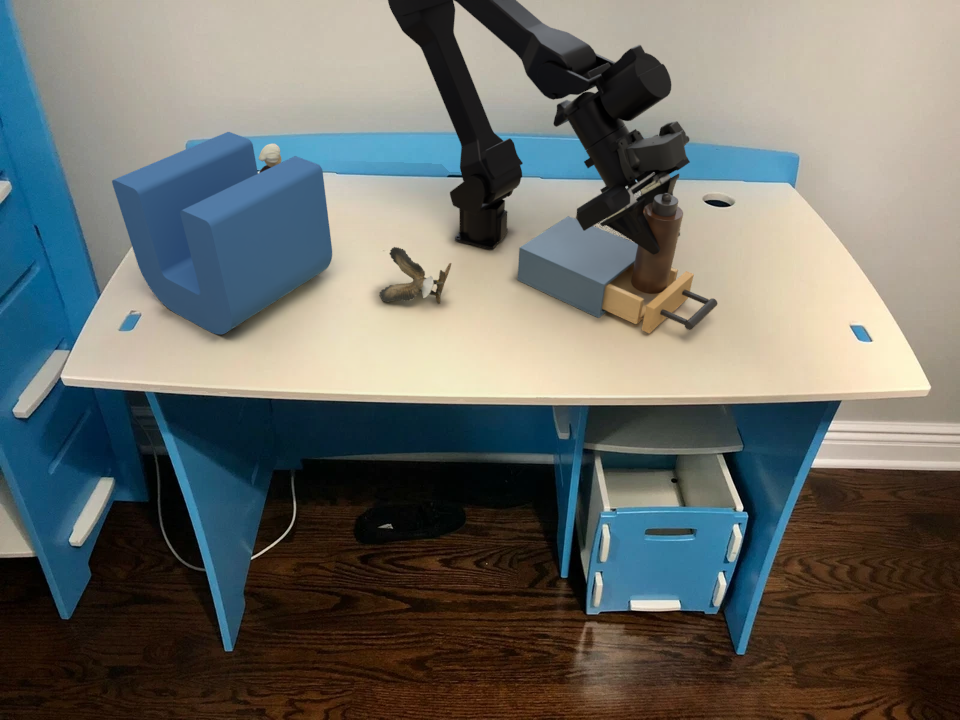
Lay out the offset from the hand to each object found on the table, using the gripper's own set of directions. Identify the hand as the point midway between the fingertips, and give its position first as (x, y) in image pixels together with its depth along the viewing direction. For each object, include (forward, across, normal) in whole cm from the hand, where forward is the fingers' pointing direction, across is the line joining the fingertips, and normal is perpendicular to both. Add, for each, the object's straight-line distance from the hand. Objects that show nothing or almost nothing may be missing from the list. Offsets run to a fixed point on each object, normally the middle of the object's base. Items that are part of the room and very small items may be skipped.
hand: (666, 245), depth 97 cm
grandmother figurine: (-33, -17, +49) cm, 61 cm away
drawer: (+6, 0, +8) cm, 10 cm away
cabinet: (-1, 0, +16) cm, 16 cm away
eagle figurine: (-11, -19, +27) cm, 35 cm away
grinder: (+4, 0, +6) cm, 7 cm away
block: (-24, -34, +40) cm, 58 cm away
